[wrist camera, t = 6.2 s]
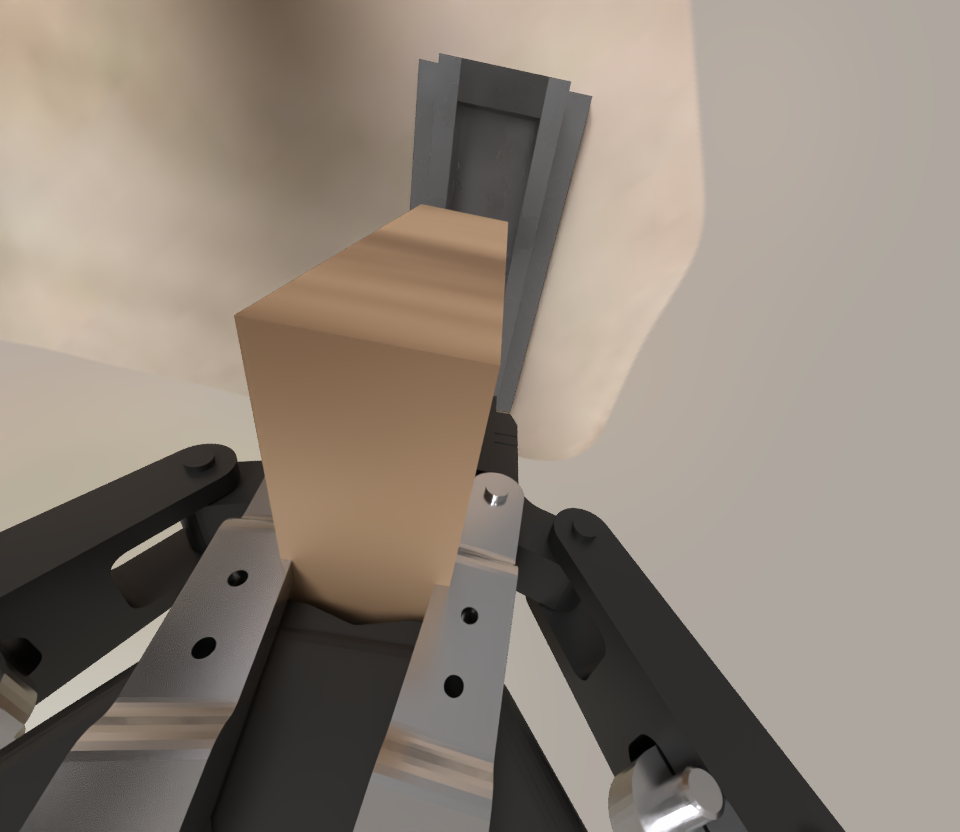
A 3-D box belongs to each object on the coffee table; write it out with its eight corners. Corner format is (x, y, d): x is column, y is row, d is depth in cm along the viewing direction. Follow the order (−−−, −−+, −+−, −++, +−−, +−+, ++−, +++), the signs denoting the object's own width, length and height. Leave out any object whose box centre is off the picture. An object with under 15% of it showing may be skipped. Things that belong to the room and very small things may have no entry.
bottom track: (423, 62, 21) (405, 46, 17) (589, 98, 21) (603, 88, 18) (401, 386, 32) (389, 413, 29) (510, 405, 32) (509, 434, 29)
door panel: (421, 203, 11) (234, 315, 4) (508, 222, 11) (500, 365, 4) (399, 482, 17) (313, 733, 10) (455, 491, 17) (412, 747, 10)
